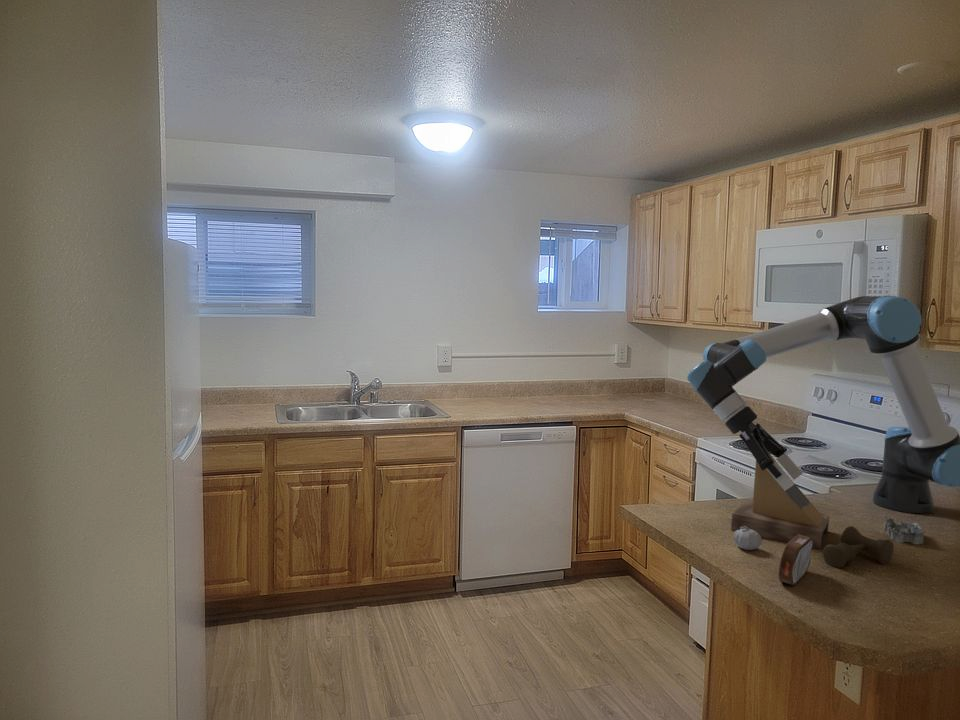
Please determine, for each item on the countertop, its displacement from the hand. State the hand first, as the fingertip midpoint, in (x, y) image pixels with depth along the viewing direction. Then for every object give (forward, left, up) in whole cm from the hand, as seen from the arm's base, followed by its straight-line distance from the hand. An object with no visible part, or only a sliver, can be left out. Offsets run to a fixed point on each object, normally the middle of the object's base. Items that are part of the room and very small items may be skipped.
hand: (794, 482), depth 169 cm
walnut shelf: (+2, 0, -13) cm, 13 cm away
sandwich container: (+1, 0, -9) cm, 9 cm away
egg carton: (-24, -16, -13) cm, 32 cm away
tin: (-6, +31, -13) cm, 34 cm away
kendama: (-15, +9, -13) cm, 22 cm away
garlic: (+6, +19, -13) cm, 24 cm away
